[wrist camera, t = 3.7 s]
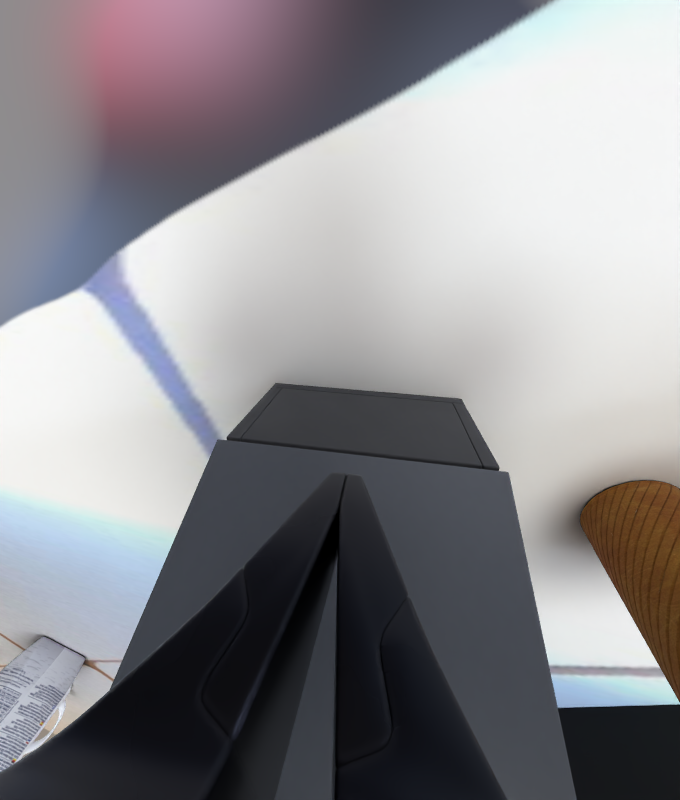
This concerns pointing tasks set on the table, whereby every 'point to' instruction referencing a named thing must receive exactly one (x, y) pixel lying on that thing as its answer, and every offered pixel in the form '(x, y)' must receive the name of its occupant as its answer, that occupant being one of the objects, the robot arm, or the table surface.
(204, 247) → the table surface
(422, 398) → the dark grey boxy piece
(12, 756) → the juice carton
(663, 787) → the coffee maker
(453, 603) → the lid
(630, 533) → the disposable coffee cup
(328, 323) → the table surface
